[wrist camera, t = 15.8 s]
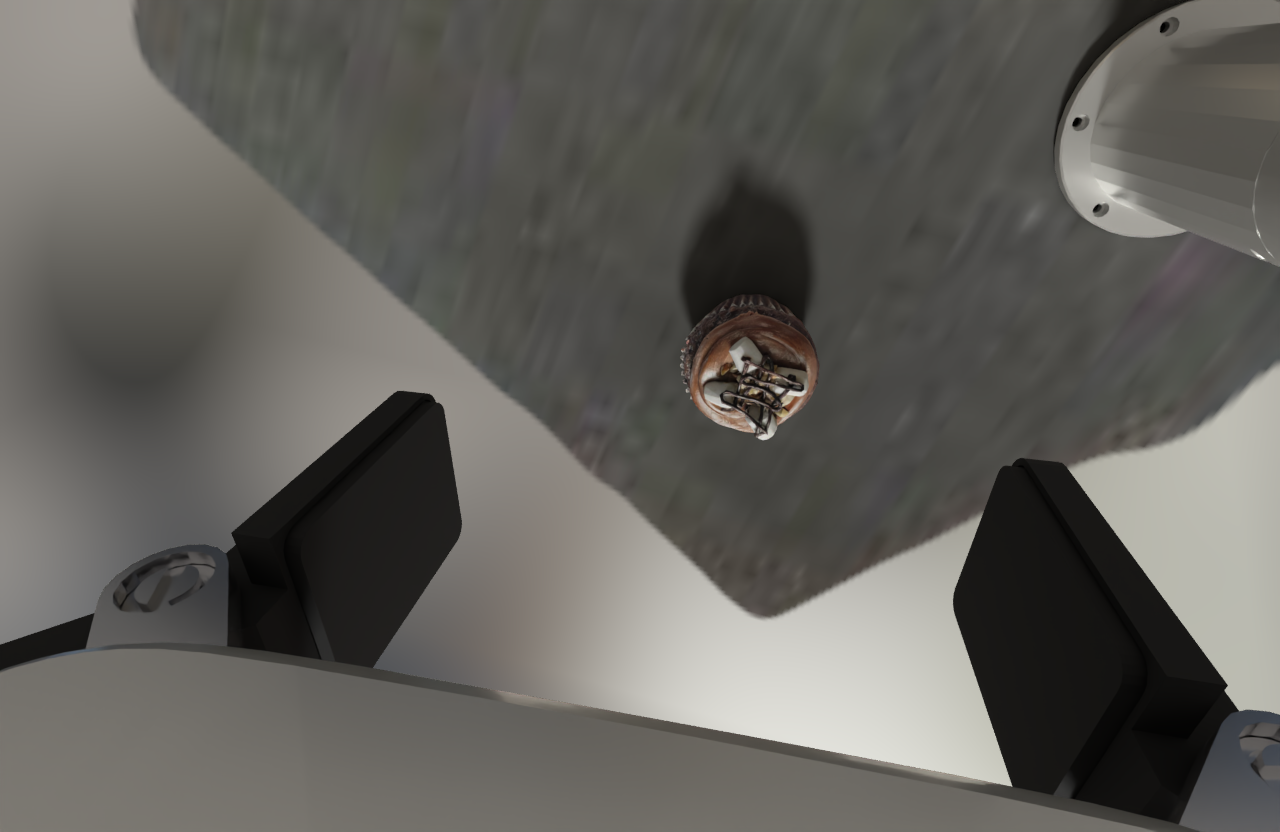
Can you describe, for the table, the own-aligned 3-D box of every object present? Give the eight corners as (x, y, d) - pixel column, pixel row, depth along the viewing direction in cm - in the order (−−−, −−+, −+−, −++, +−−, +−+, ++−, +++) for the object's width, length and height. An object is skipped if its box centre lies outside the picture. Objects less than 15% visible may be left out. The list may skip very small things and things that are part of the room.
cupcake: (712, 263, 45) (698, 309, 36) (836, 308, 45) (851, 365, 36) (671, 373, 50) (650, 436, 41) (783, 414, 50) (785, 485, 41)
